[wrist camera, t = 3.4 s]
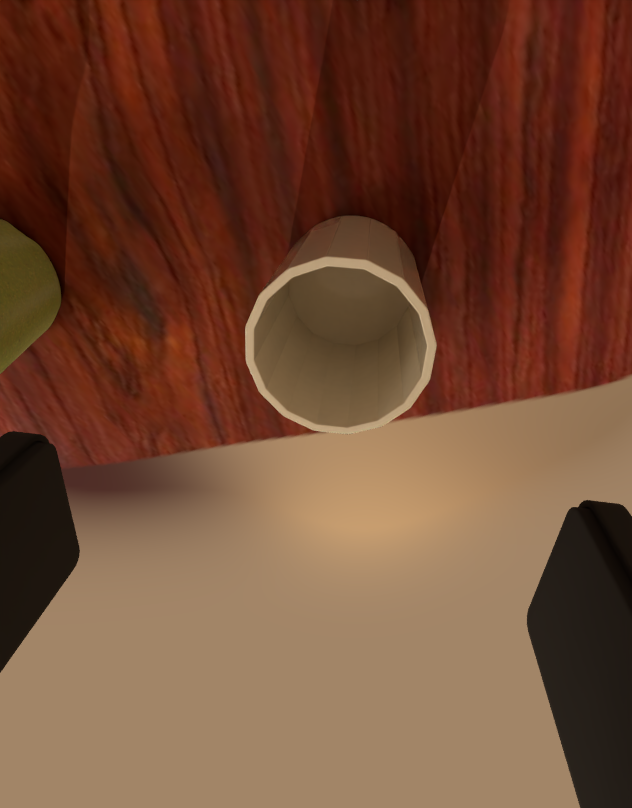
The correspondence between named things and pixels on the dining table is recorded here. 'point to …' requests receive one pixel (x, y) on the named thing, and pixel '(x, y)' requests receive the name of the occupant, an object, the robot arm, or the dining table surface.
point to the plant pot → (24, 293)
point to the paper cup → (342, 329)
